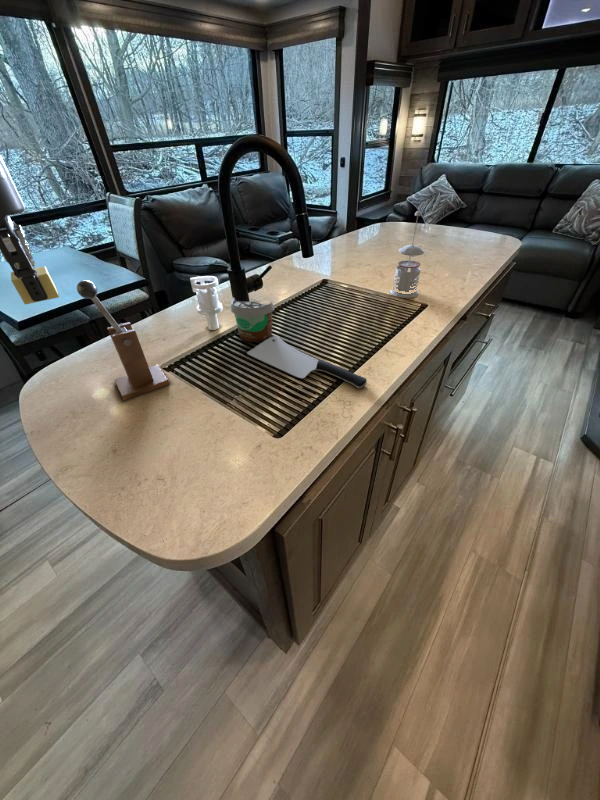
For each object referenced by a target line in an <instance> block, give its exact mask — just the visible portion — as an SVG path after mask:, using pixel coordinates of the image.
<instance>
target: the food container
mask: <svg viewBox="0 0 600 800" xmlns="http://www.w3.org/2000/svg"><path fill="white" fill-rule="evenodd" d="M274 311H275V304H274V303H273V301H271V302H269V303H268V304H265V303H259V302H256V301H241V300H236V299H235V297H232V298H231V301H230V312H232V314H233V315H234V318H235V323H236V326H237V329H238V334H239V337H240V339H241V340H243V341H244V342H248V343H260V342H264V341H265V340H267V339H269V338H270V337H272V336H273V312H274Z"/></svg>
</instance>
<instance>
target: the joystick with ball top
mask: <svg viewBox="0 0 600 800" xmlns="http://www.w3.org/2000/svg"><path fill="white" fill-rule="evenodd" d="M76 292H77V293H78V295H79V296H80V297H81V298H84V299H87V300H91V301H92V303H93V304H94V305H95V307H97V309H98V310H99V311H100V313H101V314H102V315H103V317H104V318H105V319H106V320H107V322H108V323H109V324H110V325H111V327H113V328H114V329H115V330H116V331H115V332H114V334H117V333H120V332H124V331H127V330H126V329H125V327H123V328H120V327H119V323H117V321H116V319H114V318H113V316H112V315H111V314H110V312H109V311H108V310H107V309H106V307H105V305H104V304H103V303H102V302H101V301H100V299H99V298H98V297H97V296H98V287H97V285H96V284H95V283H94V282H92V281H91V280H86V279H85V280H84V279H83V280H80V281H79V282H78V283H77V285H76Z"/></svg>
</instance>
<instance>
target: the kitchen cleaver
mask: <svg viewBox="0 0 600 800" xmlns="http://www.w3.org/2000/svg"><path fill="white" fill-rule="evenodd" d="M246 354H247V355H248V356H250V357H252V358H253V359H256V360H259V361H260V362H263V363H264V364H267V365H269V366H271V367H273V368H276V369H278V370H280V371H282V372H283V373H286V374H288V375H291V376H292V377H295V378H298V379H302V380H304V379H305V378H306V377H307V376H308V375H309V374H311V372H313V371H316V372H322V373H325V374H328V375H330V376H332V377H335V378H337V379H340V380H341V381H344V382H346V383H348V384H351V385H352V386H354V387H355V388H357V389H364V387H366V385H367V381H368V380H367V377H364V376H361V375H359V374H356V373H353V372H351V371H348V370H346V369H344V368H341V367H339V366H336V365H335V364H333V363H329V362H327V361H324V360H321V359H318V358H315V357H313V356H311V355H309V354H306V353H304V352H302V351H300V350H299V349H296V348H294V347H293V346H291V345H290V344H288V343H287V342H285V341H284V340H283V339H281V337H279V336H277V335H272V336H271V337H270V338H268V339H267V340H264V341H261V343H259V344H258V345H256V346H255V347H253V348H252V349H250V350H248V351H247V352H246Z"/></svg>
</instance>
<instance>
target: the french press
mask: <svg viewBox="0 0 600 800" xmlns="http://www.w3.org/2000/svg"><path fill="white" fill-rule="evenodd" d="M414 216H415V217H416V221H415V227H414V232H413V239H412V243H411V244H407V245H404V246H402V247H401V248H399V249H398V252H399V254H401V255H404V256H409V258H408V259H405V260H400V261H398V262H397V265H398V266H396V267H395V274H394V278H393V279H394V280H393V285H392V288H391V289H392V290H391V289H390V290H389V294H390V295H392V296H394V297H398V298H405V299H411V298H415V297H417V296H419V291H418V290H416V289H418V284H419V279H420V274H421V267H420V266H421V263H420V262H419V261H415V260H416V256H422V255H424V254H425V252H426V251H425V249H424V248H422V247H420V246H418V245H417V244H416V245H415V244H414V241H415V236H416V230H417V224H418V219H419V217H421V216H422V211H420V210H416V212H415V213H414ZM411 258H413V260H411ZM395 284H396V285H398V287H396V286H395ZM412 284H413V285H412ZM393 286H394V287H395V288H396V289H398V290H399V291H405V292H409V290H414V289H415V288H416V287H417V288H416V289H415V290H416V292H414V293H411V294H402V293H398V292H395V291H394V290H393ZM410 286H411V287H413V286H416V287H414V288H410Z"/></svg>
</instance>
